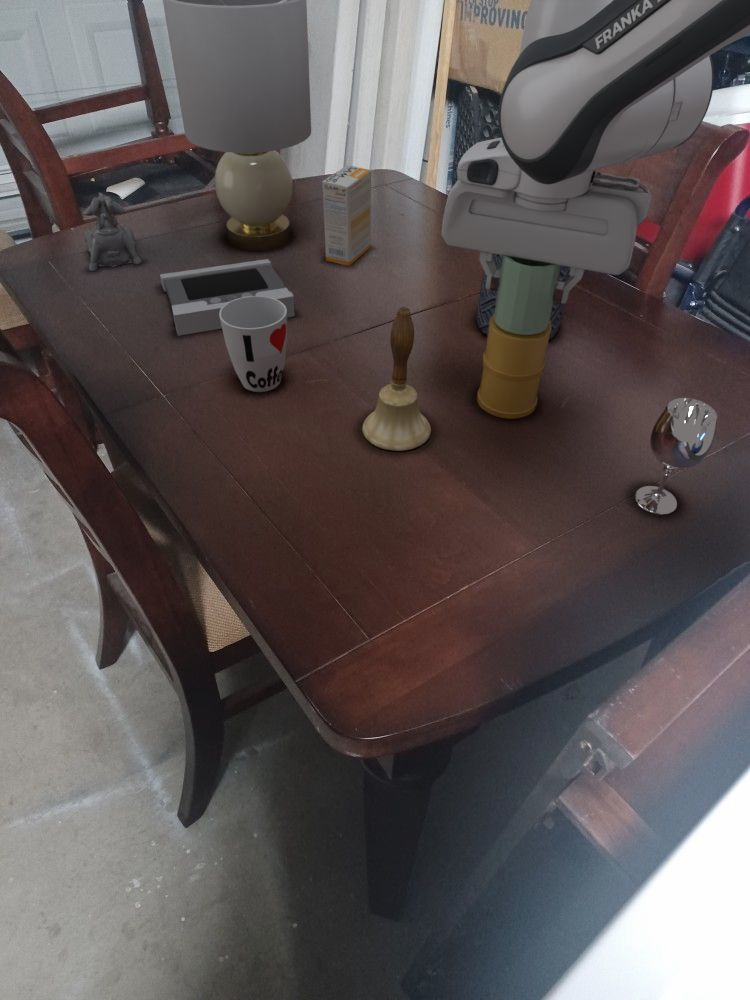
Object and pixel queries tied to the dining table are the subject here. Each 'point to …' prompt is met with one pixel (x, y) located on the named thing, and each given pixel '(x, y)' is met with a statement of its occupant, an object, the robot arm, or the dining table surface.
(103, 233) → the figurine
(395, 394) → the hand bell
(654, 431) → the wineglass
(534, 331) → the sage cup
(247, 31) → the lamp
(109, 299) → the dining table surface
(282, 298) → the alarm clock
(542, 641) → the dining table surface
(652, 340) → the dining table surface
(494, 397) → the cup stack
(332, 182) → the supplement box
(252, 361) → the cup
